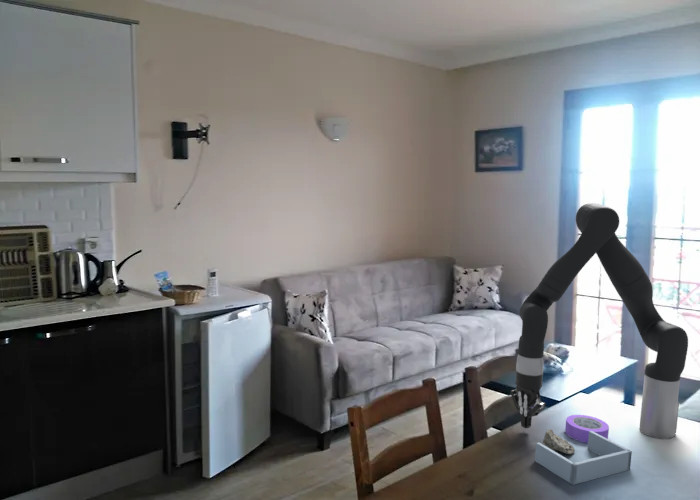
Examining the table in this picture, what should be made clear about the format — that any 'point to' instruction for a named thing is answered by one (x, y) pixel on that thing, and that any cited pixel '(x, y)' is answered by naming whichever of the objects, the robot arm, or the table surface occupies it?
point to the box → (608, 463)
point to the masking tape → (585, 427)
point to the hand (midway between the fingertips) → (525, 427)
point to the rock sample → (557, 443)
